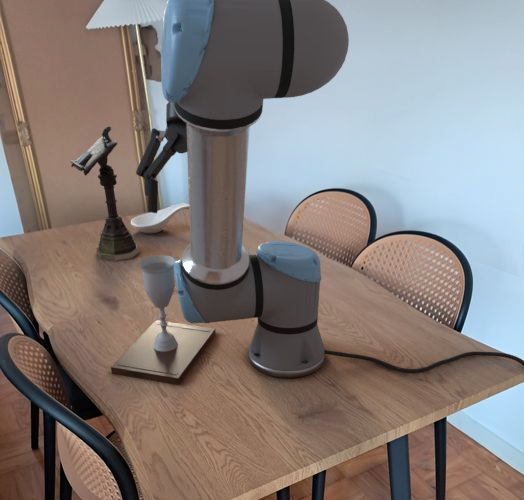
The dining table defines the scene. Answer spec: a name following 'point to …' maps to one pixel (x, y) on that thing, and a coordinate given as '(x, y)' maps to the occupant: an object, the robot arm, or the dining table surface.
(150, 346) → the serving board
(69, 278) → the dining table surface
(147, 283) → the chalice
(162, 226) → the spoon rest
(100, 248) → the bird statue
